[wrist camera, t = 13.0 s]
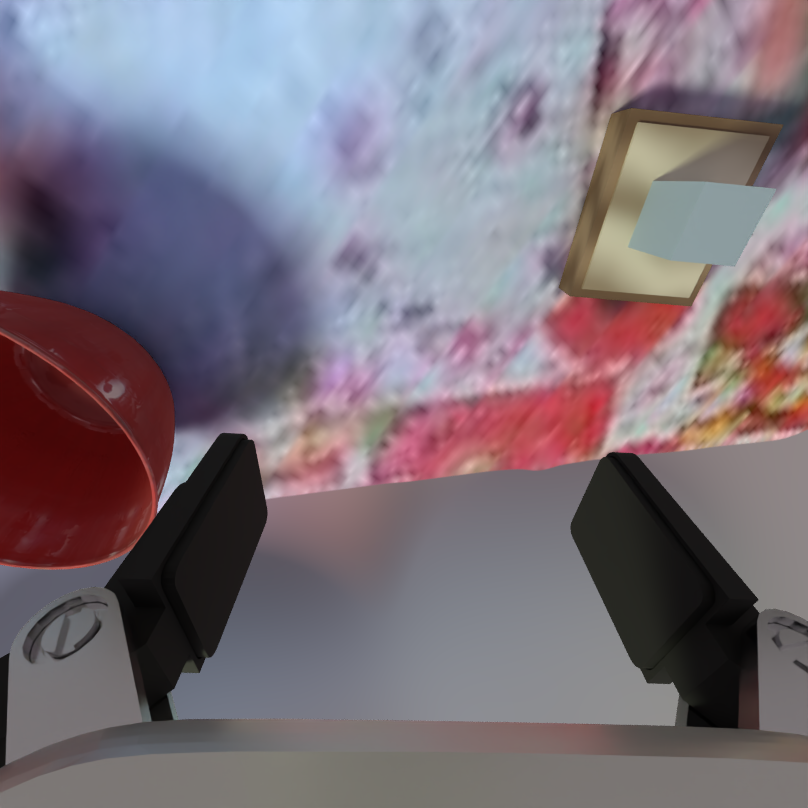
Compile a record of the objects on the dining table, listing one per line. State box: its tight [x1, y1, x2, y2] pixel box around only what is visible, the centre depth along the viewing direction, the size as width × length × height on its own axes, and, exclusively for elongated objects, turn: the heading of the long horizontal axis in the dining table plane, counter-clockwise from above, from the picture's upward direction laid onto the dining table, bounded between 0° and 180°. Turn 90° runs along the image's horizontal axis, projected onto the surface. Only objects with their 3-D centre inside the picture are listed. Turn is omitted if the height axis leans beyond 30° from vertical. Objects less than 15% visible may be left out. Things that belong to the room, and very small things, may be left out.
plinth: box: [559, 108, 783, 306], centre depth 32 cm, size 14×12×3 cm
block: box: [628, 181, 776, 266], centre depth 28 cm, size 5×5×6 cm
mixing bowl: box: [0, 291, 175, 569], centre depth 35 cm, size 28×28×16 cm
